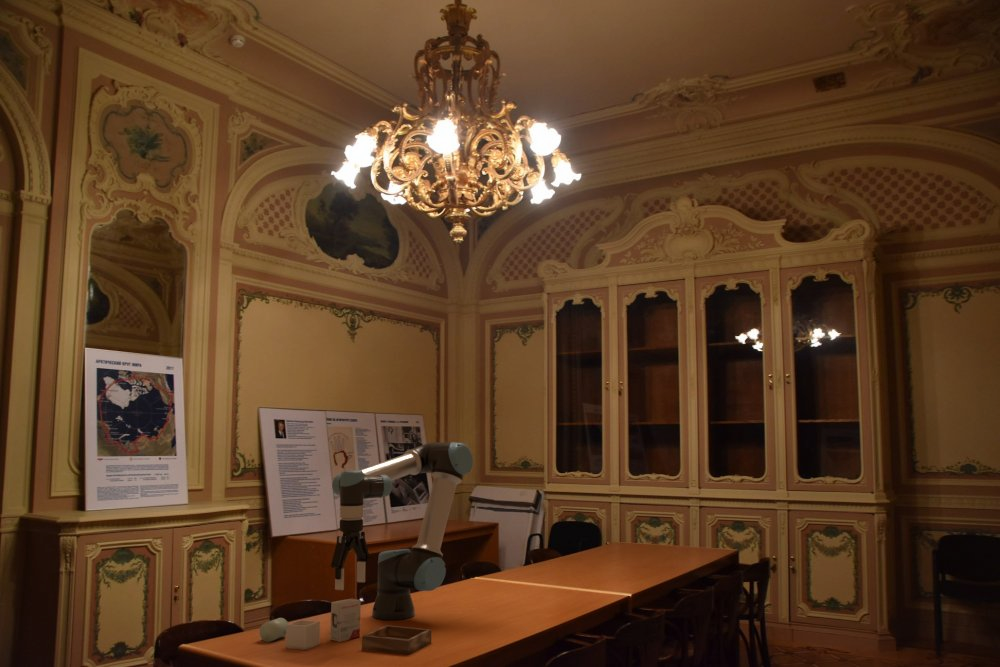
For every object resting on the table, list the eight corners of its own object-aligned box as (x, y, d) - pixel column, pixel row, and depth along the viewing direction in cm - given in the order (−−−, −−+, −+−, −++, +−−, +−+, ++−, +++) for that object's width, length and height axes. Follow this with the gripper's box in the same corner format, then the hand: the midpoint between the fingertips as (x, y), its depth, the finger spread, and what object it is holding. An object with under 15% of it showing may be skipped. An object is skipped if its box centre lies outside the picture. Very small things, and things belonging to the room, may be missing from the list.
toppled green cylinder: (288, 637, 266) (273, 636, 269) (288, 618, 267) (273, 617, 269) (275, 642, 260) (259, 641, 262) (275, 622, 261) (259, 622, 263)
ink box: (351, 634, 270) (352, 597, 271) (361, 637, 266) (361, 599, 268) (329, 639, 263) (330, 601, 265) (338, 642, 260) (339, 603, 261)
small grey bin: (300, 642, 260) (300, 619, 261) (319, 644, 257) (319, 621, 258) (286, 648, 254) (286, 624, 254) (305, 650, 251) (306, 626, 252)
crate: (386, 638, 265) (386, 625, 266) (431, 642, 260) (431, 629, 260) (361, 649, 252) (362, 635, 252) (408, 654, 246) (408, 640, 246)
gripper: (360, 514, 282) (359, 578, 279) (320, 522, 258) (319, 592, 256) (380, 515, 279) (379, 579, 277) (341, 523, 256) (340, 593, 253)
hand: (350, 585), depth 266 cm, fingers open, 13 cm apart
